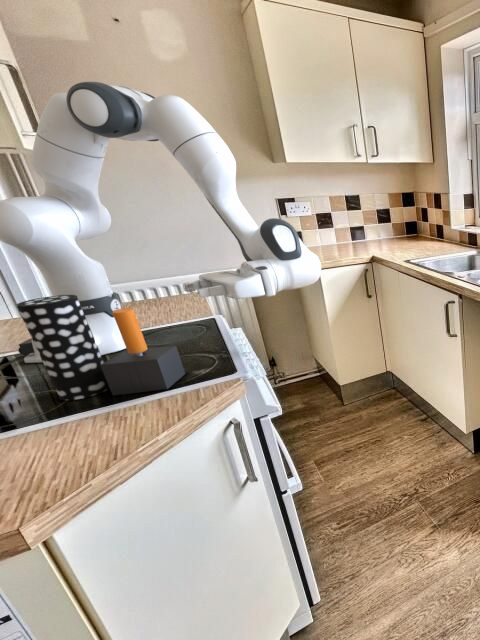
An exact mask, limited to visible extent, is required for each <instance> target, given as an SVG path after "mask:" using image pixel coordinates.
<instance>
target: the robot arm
mask: <svg viewBox="0 0 480 640" xmlns="http://www.w3.org/2000/svg"><path fill="white" fill-rule="evenodd" d="M112 139H116V140H122V141H127V142H128V141H129V142H138V141H142V142H143V141H147V142H158V141H159V142H160V143H161V144H162V145H163V146H164V147H165V148H166V149H167V150H168V151H169V153H170V154H171V155H172V156H173V157H174V159H175V160H176V161H177V162H178V164H180V166H182V168H183V169H184V170H185V171H186V173H187V174H188V176H189V177H190V178H191V179H192V180H193V182H194V183H195V184H196V185H197V187H198V188H199V190H200V192H202V194H203V196H204V197H205V199H206V200H207V202H208V203H209V205H210V206H211V207H212V209H213V210H214V212H215V213H216V214H217V216H219V218H220V220H222V222H223V223H224V225H225V226H226V227H227V229H228V230H229V231H230V232H231V234H232V235H233V236H234V238H235V240H236V241H237V243H238V245H239V247H240V251H241V253H242V256H243V258H244V259H245V261H243V262H242V263H241V265H240V267H239V268H236V270H221V271H214V272H207V273H202V274H199V276H198V279H197V280H194V281H192V282H187V283H183V284H182V289H183V291H184V292H185V293H192V292H197V295H198V297H200V298H209V297H221V296H224V297H228V298H230V299H233V300H234V299H235V300H241V299H250V298H261V297H266V298H271V297H274V296H276V294H277V293H280V292H281V291H292V290H296V289H297V290H298V289H301V288H304V287H307V286H311V285H313V284H315V283H317V282H318V280H319V279H320V277H321V275H322V264H321V260H320V258H319V256H318V255H317V254H315V253H314V252H312V251H311V250H310V249H308V247H307V246H306V245H305V244H304V242H303V241H302V239H301V238H300V236H299V233H298V230H297V229H296V228H295V227H294V226H293V225H292V224H291V223H289V222H288V221H286V220H284V219H281V218H276V217H275V218H274V217H273V218H268V219H266V220H264V221H262V223H261V224H260V225H258V224H257V223H256V222H255V220H254V219H253V218H252V216H251V215H250V214H249V212H248V210H247V209H246V207H245V206H244V205H243V204H242V201H241V200H240V198H239V196H238V192H237V184H236V183H237V178H236V177H237V162H236V158H235V156H234V155H233V153H232V151H231V149H230V148H229V146H228V144H226V142H225V141H224V140H223V138H222V137H221V136H220V135H219V133H218V132H217V131H216V130H215V128H213V126H212V125H211V124H210V123H209V121H207V120H206V118H205V117H203V115H201V113H200V112H199V111H198V110H196V109H195V107H194V106H192V105H191V104H190V103H189V102H187V100H185V99H184V98H182V97H180V96H178V95H174V94H161V95H159V96H156V97H155V96H153V95H152V94H149V93H146V92H143V91H139V90H136V89H134V88H130V87H127V86H124V85H113V84H106V83H104V82H100V81H83V82H78V83H75V84H73V85H72V86H70V88H69V89H68V91H67V92H65V91H64V92H63V91H62V92H57V93H54V94H53V95H51V97H50V98H49V100H48V101H47V103H46V105H45V107H44V109H43V110H42V113H41V116H40V119H39V121H38V125H37V128H36V133H35V138H34V142H33V147H32V152H31V157H30V167H31V169H32V170H33V172H34V173H35V174H37V175H38V177H40V178H41V179H43V181H44V190H45V191H44V192H43V194H42V195H35V196H13V197H9V198H6V199H2V200H0V242H1V243H4V244H6V245H9V246H11V247H13V248H15V249H17V250H18V251H20V252H21V253H22V254H24V255H25V256H26V257H27V258H28V259H29V260H30V261H32V263H33V264H34V265H35V267H36V268H38V270H39V271H40V273H41V274H42V276H43V278H44V280H45V283H46V284H47V287H48V289H49V291H50V292H51V293H50V294H51V296H58V295H76V296H77V297H78V300H79V302H80V305H81V307H82V310H83V312H84V315H85V317H86V319H87V322H88V324H89V327H90V329H91V332H92V334H93V337H94V339H95V341H96V344H97V346H98V349H99V351H100V354H101V356H104V355H108V354H111V353H116V352H119V351H122V350H123V351H124V350H127V348H126V346H125V343H124V341H123V338H122V336H121V333H120V331H119V328H118V326H117V323H116V321H115V318H114V316H113V313H112V312H113V311H114V310H117V309H122V308H123V307H122V305H121V302H120V300H119V297H118V295H117V293H116V292H114V291H113V288H112V285H111V282H110V280H109V278H108V275H107V272H106V268H105V267H104V265H103V264H102V263H101V262H99V261H98V260H96V259H95V258H91V257H89V256H88V255H87V254H85V253H84V251H83V250H82V249H81V248H80V247H79V245H78V244H77V242H79V241H85V240H90V239H93V238H96V237H98V236H101V235H102V234H105V233H106V232H107V231H108V230H110V228H111V225H112V217H111V214H110V212H109V210H108V209H107V207H106V206H104V204H102V202H101V199H100V194H99V184H100V183H99V182H100V178H101V174H102V169H103V165H104V161H105V157H106V154H107V149H108V145H109V142H110V141H111V140H112ZM18 346H19V347H18V350H17V351H18V353H19V354H21V356H22V355H23V356H24V358H23V362H24V363H25V364H36V363H43V361H42V359H41V357H40V355H39V353H38V351H37V348H36V346H35V344H34V342H33V340H32V338H29V339H28V338H27V339H26V340H24V341H23V342H21V343H19V344H18Z"/></svg>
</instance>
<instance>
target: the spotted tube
mask: <svg viewBox="0 0 480 640" xmlns="http://www.w3.org/2000/svg"><path fill="white" fill-rule="evenodd" d="M15 306H16V308H17V310H18V312H19V314H20V316H21V319H22V321H23V323H24V325H25V327H26V329H27V331H28V334H29V335H30V339H32V340H33V342H34V344H35V346H36V348H37V351H38V353H39V355H40V357H41V359H42V361H43V362H42V364H43V365H44V367H45V368H44V369H45V370H46V372H47V374H48V376H49V379H50V380H51V383H52V385H53V387H54V389H55V392H56V393H57V395H58V398H59V399H60V400H62V401H76V400H81V399H82V400H83V399H85V398H91V397H94V396H96V395H98V394H102V393H104V392H106V391H108V390H110V387H109V385H108V383H107V380H106V378H105V375H104V373H103V371H102V368H101V366H100V365H101V364H103V363H104V362H105V360H104V359H103V355H101V354H100V351H99V349H98V346H97V344H96V341H95V339H94V337H93V334H92V332H91V329H90V327H89V324H88V322H87V319H86V317H85V315H84V312H83V310H82V307H81V305H80V302H79V300H78V297H77V296H76V295H58V296H53V295H50V296H43V297H38V298H33V299H28V300H24V301H20V302H19V303H16V305H15Z"/></svg>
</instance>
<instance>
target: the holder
mask: <svg viewBox="0 0 480 640" xmlns="http://www.w3.org/2000/svg"><path fill="white" fill-rule="evenodd" d="M147 348H148V349H147V350H146V351H143V352H142V354H143V356H137V354H136V353H135V354H130V353H128V351H127V349H124V350H123V351H121V352H120V353H117V354H116V355H114V356H112V357H111V358H109V359H108V360H106V361H104V363H103V364H101V365H100V366H101V368H102V371H103V373H104V375H105V378H106V380H107V383H108V385H109V387H110V389H109V390H110V392H111V394H112V396H120V395H129V394H137V393H138V394H139V393H147V392H156V391H162V390H169V388H171V387H173V385H174V384H175V383H176V382H178V381H179V380H180V379H182V377H183V376H185V375H186V372H185V368H184V366H183V363H182V360H181V356H180V353H179V351H178V347H177V346H176V345H166V346H158V347H157V346H156V347H147Z"/></svg>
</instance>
